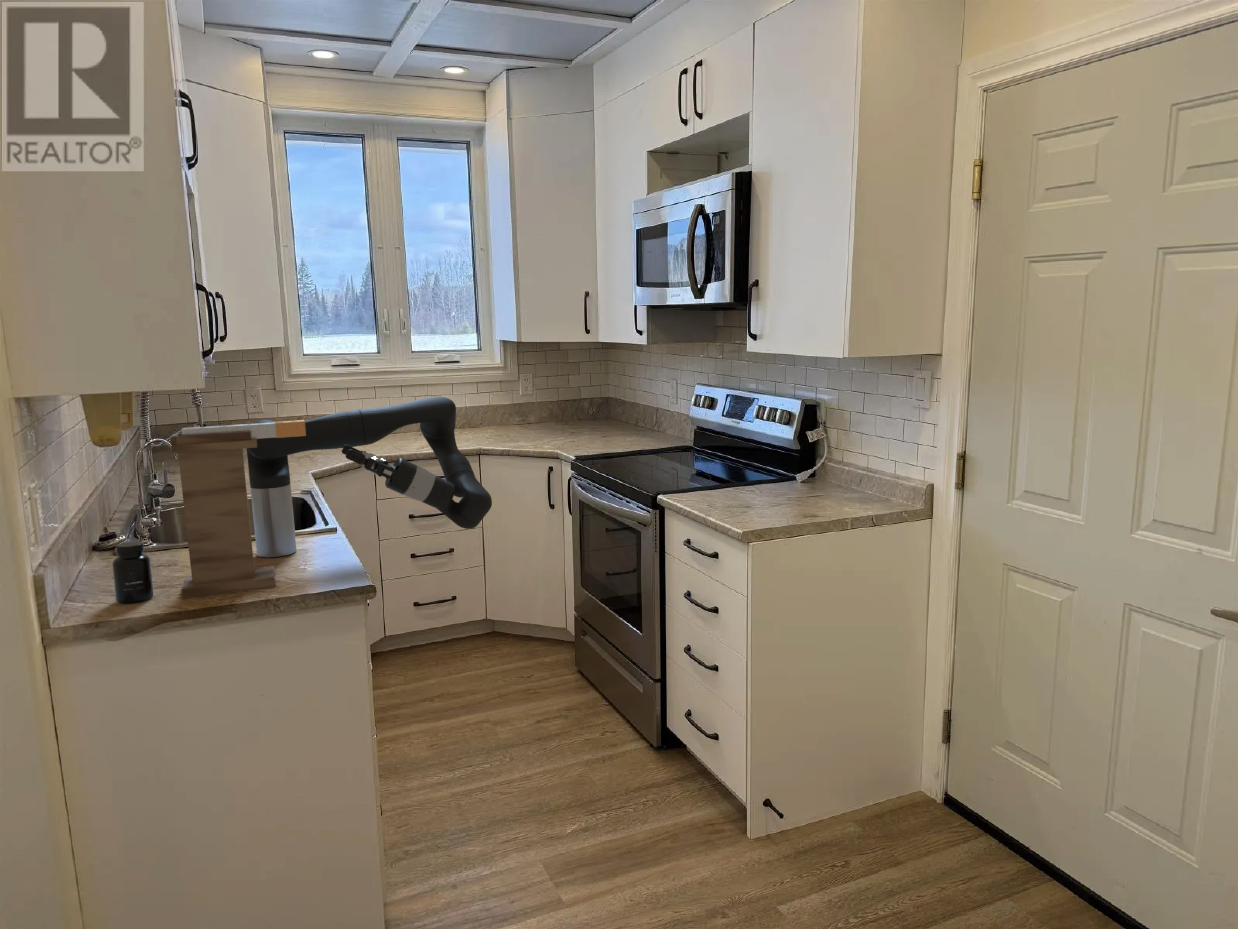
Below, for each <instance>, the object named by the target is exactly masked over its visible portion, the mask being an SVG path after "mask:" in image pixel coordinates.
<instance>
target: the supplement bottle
mask: <svg viewBox="0 0 1238 929" xmlns="http://www.w3.org/2000/svg"><path fill="white" fill-rule="evenodd" d="M115 549H116V555H117V557H116V558H115V559H114V560H113V561H112V563H111V564H112V565H111V566H112V573H113V574H112V575H113V584H114V595H115V601H116V603H117V604H120V605H134V604H135V605H136V604H140V603H144V602H147V601H149V600H151V599H153V598H154V587H153V586H154V585H153V577H152V576H153V575H152V566H151V558H150V557H149V556H148V555H147V554H145V553H144V551H145V549H144V542H142V541H128V542H122V543H119V544H117V545H116V546H115Z"/></svg>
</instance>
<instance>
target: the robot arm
mask: <svg viewBox="0 0 1238 929" xmlns="http://www.w3.org/2000/svg"><path fill="white" fill-rule="evenodd" d="M456 417H457V406H456V404H455V402H454V401H453V400H451V399H450V398H448V397H445V396H431V397H430V396H429V397H424V398H421V399H416V400H412V401H408V402H403V403H402V402H401V403H396V404H392V405H385V406H378V407H372V408H362V409H361V408H360V409H359V408H358V409H351V410H345V411H344V410H343V411H339V412H334V413H330V414H327V415H322V416H320V417H315V418H313V419H309V420H304V421H305V429H306V436H297V437H283V438H276V437H275V438H261V439H257V447H256V448H246V457H247V458H246V459H247V467H248V479H249V480H248V481H249V487H250V498H251V508H252V517H253V518H252V519H253V526H254V527H253V528H254V537H255V538H254V540H255V549H256V555H257V557H260V558H275V557H276V558H277V557H284V556H288V555H292V554H294V553H296V552H297V541H296V529H295V528H296V527H295V519H294V507H293V495H292V486H291V474H290V467H289V466H290V465H289V456H291V455H293V454H298V453H303V452H307V451H315V450H316V451H318V450H319V451H321V450H322V451H323V450H337V449H341V453H342V454H343V455H345V458H346V459H347V460H349V461H351V462H354V463H356V464H358V465H360V466H361V468H364V469H365V470H367V471H368V472H369V473H372V474H374V475H376V476H378V477H380V478H382V477H384V478H385V482H384V486H385V488H386V489H390V490H392V491H393V492H396V493H398V494H401V495H402V496H405V497H406V498H409V499H411V500H415V501H418V502H421V503H423V504H425V505H428V506H430V507H432V508H434V509H436V510H438V511H439V512H440V513H442V514H443V515H444V516H446V517H447V518H448V519H449V520H451V521H452V523H454V524H455V525H457V527H459V528H462V529H465V530H471V529H474V528H477V526H479V524H480V523H481V521H482V520H483V519H484V518H485V516H487V514H488V513H489V512H490V510H491V508H492V505H493V501H492V500H493V499H492V495H491V494H490V493H489V492H488V490H487V489H485V487H484V486H483V485H482V484H481V482H480V481H479V480H478V478H476V475H475V472H474V470H473V468H472V465H471V463H470V462H469V459H468V458H467V456H465V455H464V454H463V452H461V451H460V450H459V448H458V446H457V441H456V437H455V436H456V434H455V429H456V424H457V422H456V419H457V418H456ZM272 422H275V421H274V420H271V419H261V420H258V421H255V422H254V423H253V424H256V423H272ZM415 424H419V429H420V432H421V435H423V438H424V439H425V441H426V442H427V444H428V446H429V447H430V448H431V450H432V452H433V453H434V455H435V456H436V459H437V461H438V463H439V466H440V468H441V470H442V473H443V475H444V478H443V477H440V476H438V475H435V474H434V473H432V472H431V471H429V470H428V469H425V468H423V467H421V466H419V465H417V464H414V463H412V462H410V461H408V460H406V459H404V458H401V457H398V458H397V459H396V460H395V461H394V462H393V464H389V463H390V461H388V459H386V458H384V457H380V456H378V455H376V454H374V453H371V452H370V453H369V452H367V451H366V450H360V449H357V448H356V447H362V446H369V445H372V444H374V443H377V442H378V441H381V440H383V439H384V438H386V437H387V436H388V435H391V434H393V433H394V432H395V431H397V430H399V429H401V428H403V427H406V426H409V425H415ZM454 497H457V498H461V499H460V500H459V501H458V502H457V501H455V500H454Z"/></svg>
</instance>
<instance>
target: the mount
mask: <svg viewBox="0 0 1238 929" xmlns="http://www.w3.org/2000/svg"><path fill="white" fill-rule="evenodd" d="M170 442H171V443H170V444H171V446H170V449H171V455H172V454H177V455H178V456H177V458H178V466H179V473H180V484H181V491H182V499H183V500H182V501H183V509H184V519H185V527H186V528H185V529H186V536H187V537H186V538H187V545H188V554H189V562H190V563H189V564H190V570H191V571H190V572H191V573H190V574H191V576H185V577H184V580H183V583H182V587H181V597H182V599H183V600H184V599H190V598H198V597H204V596H205V597H206V596H213V595H220V594H226V593H235V592H243V591H250V590H257V589H263V588H265V589H266V588H273V587H276V577H275V566H274V565H269V566H263V567H261V566H260V567H255V562H254V551H253V542H252V533H251V522H250V521H251V520H250V511H249V510H250V509H249V503H248V502H249V501H248V492H247V483H246V482H247V481H246V472H245V460H244V451H243V450H244V449H247V448H256V447H257V439H251V431H243V432H227V433H212V434H197V435H182V432H179V433H172V435H171V436H170Z"/></svg>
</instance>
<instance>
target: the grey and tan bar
mask: <svg viewBox="0 0 1238 929" xmlns="http://www.w3.org/2000/svg"><path fill="white" fill-rule="evenodd" d="M305 421H306V420H304V419H300V420H299V419H298V420H284V421H283V420H282V421H274V422H272V423H256V424H254V423H244V424H243V423H242V424H241V423H239V424H229V425H228V424H227V425H224V424H223V425H210V426H197V427H196V426H195V427H194V426H193V427H182V428H181V433H182V435H197V434H212V433H227V432H243V431H251V439H261V438H275V437H276V438H283V437H297V436H306V429H305Z"/></svg>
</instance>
